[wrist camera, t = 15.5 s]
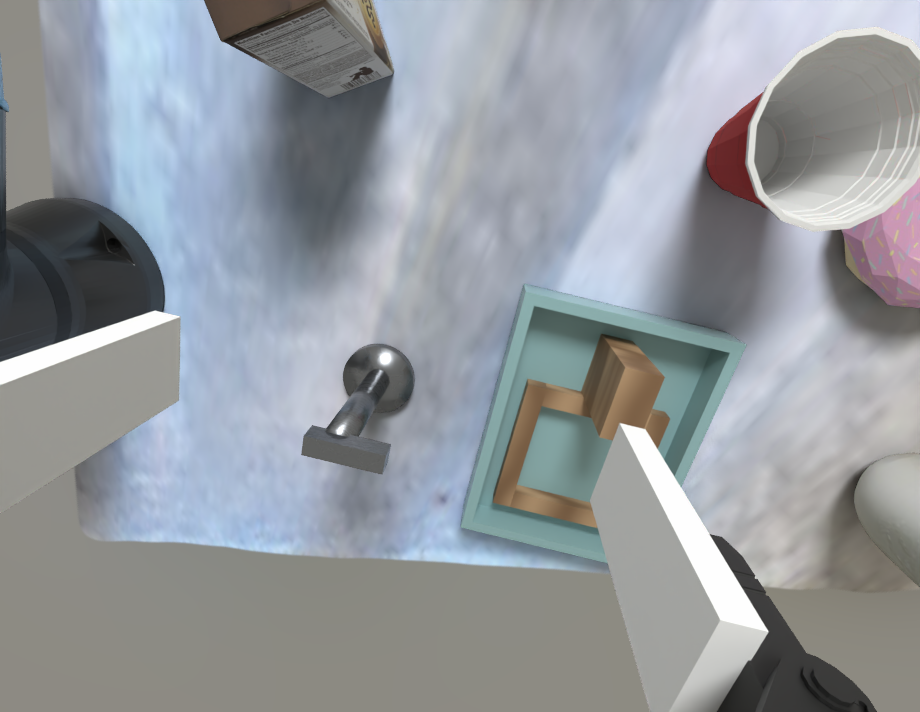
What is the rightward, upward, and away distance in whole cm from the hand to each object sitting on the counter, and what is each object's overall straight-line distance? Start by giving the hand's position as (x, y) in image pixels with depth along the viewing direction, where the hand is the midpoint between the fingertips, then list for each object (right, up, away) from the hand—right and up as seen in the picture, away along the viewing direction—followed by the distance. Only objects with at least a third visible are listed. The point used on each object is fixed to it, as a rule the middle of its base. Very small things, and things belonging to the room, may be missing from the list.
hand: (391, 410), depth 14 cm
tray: (+14, -5, +33) cm, 37 cm away
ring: (+14, -6, +32) cm, 36 cm away
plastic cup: (+25, +18, +24) cm, 39 cm away
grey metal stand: (-6, 0, +33) cm, 34 cm away
